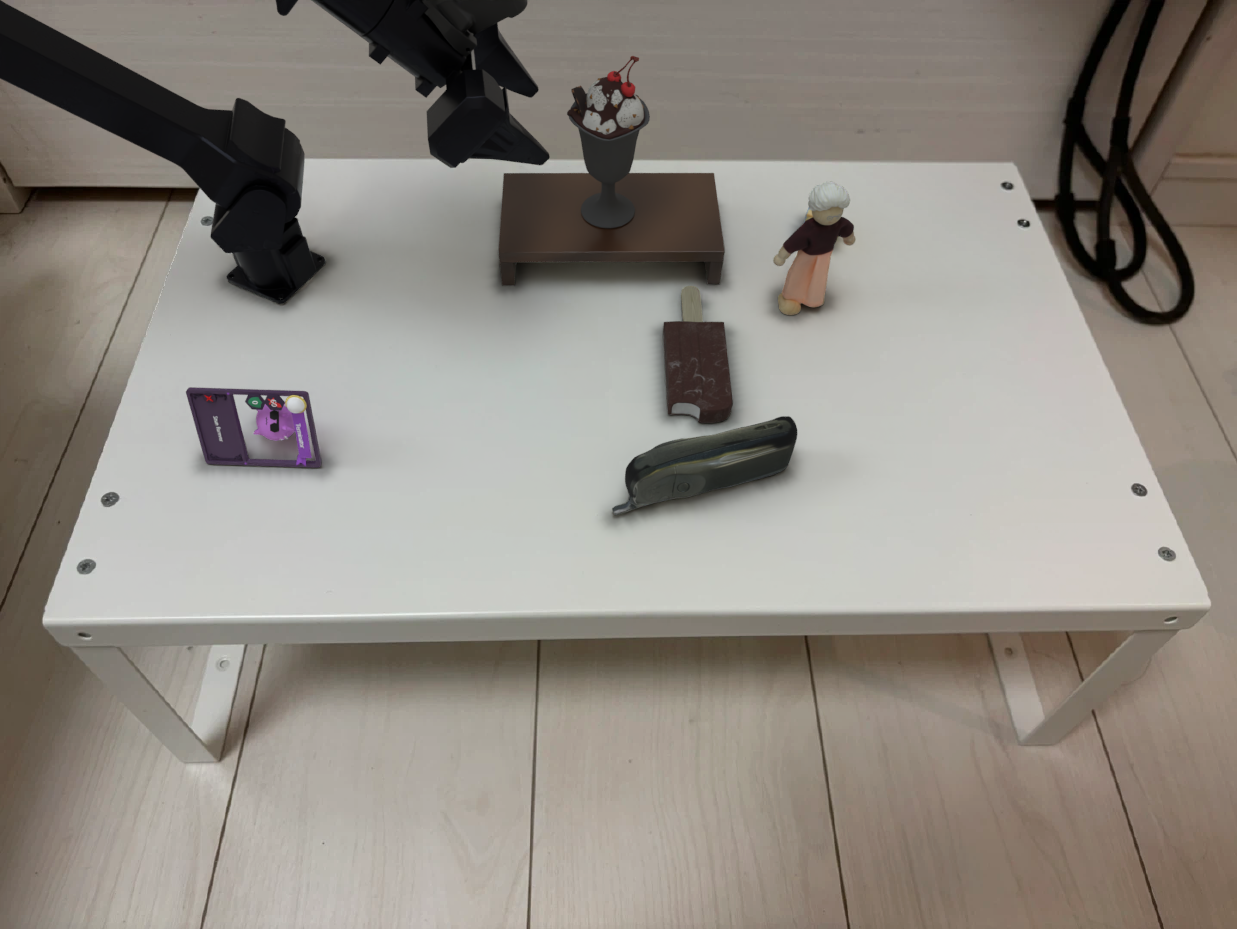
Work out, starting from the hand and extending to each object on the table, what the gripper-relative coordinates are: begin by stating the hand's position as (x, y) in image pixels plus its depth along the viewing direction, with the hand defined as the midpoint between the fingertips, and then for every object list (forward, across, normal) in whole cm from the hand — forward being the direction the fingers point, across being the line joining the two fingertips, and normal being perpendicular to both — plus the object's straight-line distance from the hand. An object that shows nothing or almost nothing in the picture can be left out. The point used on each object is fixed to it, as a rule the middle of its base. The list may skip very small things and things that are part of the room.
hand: (540, 125), depth 77 cm
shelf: (+14, 0, +5) cm, 15 cm away
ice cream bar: (+18, -15, +2) cm, 23 cm away
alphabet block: (+28, -1, -9) cm, 30 cm away
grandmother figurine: (+26, -9, -6) cm, 28 cm away
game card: (-7, -20, +27) cm, 34 cm away
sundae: (+11, 0, +3) cm, 11 cm away
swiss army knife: (+16, -28, +3) cm, 32 cm away
